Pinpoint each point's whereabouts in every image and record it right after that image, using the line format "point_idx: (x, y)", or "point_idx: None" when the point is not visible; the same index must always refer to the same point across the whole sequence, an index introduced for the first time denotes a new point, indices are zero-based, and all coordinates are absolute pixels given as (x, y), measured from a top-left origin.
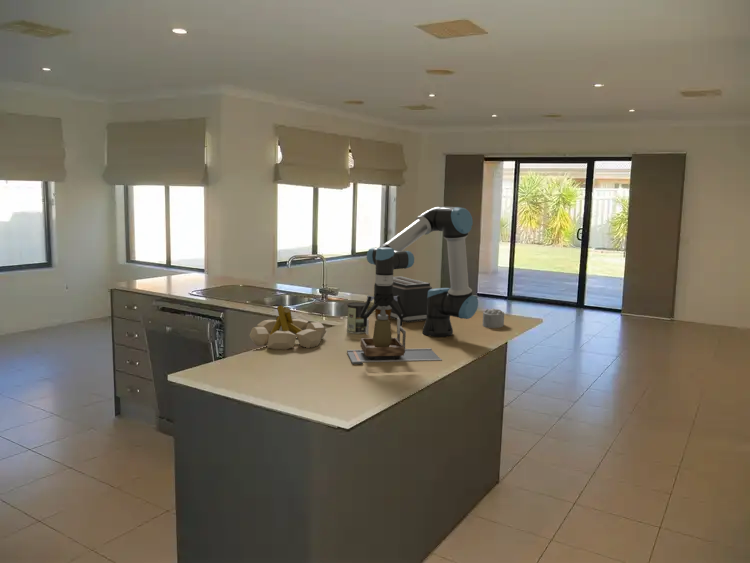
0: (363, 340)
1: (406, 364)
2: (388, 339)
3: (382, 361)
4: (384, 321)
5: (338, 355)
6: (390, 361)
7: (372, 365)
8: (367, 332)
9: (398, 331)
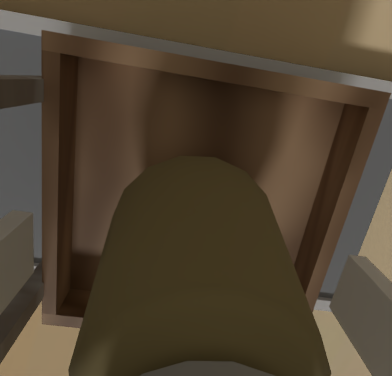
0: None
1: (78, 4)
2: (158, 170)
3: (236, 53)
4: (211, 320)
5: (389, 274)
6: (181, 43)
7: (304, 43)
8: (371, 270)
9: (11, 227)
